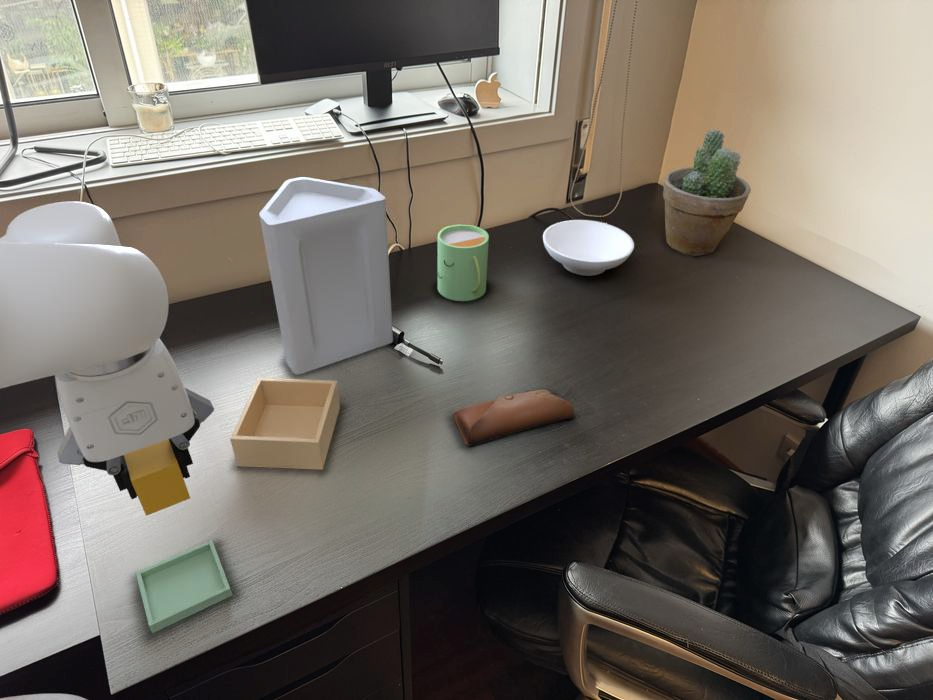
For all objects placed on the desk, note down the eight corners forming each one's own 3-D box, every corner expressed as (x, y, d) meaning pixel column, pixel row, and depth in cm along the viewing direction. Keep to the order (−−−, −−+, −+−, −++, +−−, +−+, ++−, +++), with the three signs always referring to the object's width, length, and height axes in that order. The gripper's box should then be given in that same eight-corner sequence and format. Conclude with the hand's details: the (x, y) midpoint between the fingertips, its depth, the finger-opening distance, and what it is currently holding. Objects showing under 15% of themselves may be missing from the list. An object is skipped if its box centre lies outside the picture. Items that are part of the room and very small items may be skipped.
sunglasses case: (548, 386, 107) (562, 372, 101) (563, 425, 105) (578, 413, 99) (448, 412, 101) (457, 399, 96) (462, 454, 99) (472, 443, 93)
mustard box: (146, 516, 67) (130, 480, 63) (137, 487, 70) (122, 452, 66) (190, 498, 69) (178, 463, 65) (180, 471, 72) (167, 436, 68)
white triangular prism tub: (359, 303, 127) (347, 167, 110) (394, 341, 117) (387, 198, 100) (265, 332, 118) (237, 189, 101) (295, 376, 108) (268, 226, 91)
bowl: (523, 256, 144) (525, 229, 140) (593, 240, 152) (597, 213, 147) (572, 298, 130) (576, 269, 126) (647, 278, 138) (653, 250, 134)
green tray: (152, 633, 72) (148, 626, 71) (138, 579, 77) (135, 572, 76) (232, 595, 76) (230, 588, 75) (214, 546, 81) (212, 539, 80)
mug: (428, 282, 134) (427, 230, 127) (472, 271, 138) (474, 220, 131) (454, 312, 125) (455, 258, 118) (500, 300, 129) (504, 247, 122)
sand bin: (322, 470, 92) (318, 442, 88) (237, 466, 92) (229, 438, 89) (340, 407, 102) (336, 380, 99) (263, 404, 103) (257, 377, 99)
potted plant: (746, 260, 146) (782, 153, 131) (673, 267, 142) (701, 158, 127) (705, 224, 160) (733, 124, 145) (637, 230, 156) (658, 128, 141)
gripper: (-4, 398, 50) (75, 539, 62) (212, 335, 58) (248, 471, 69) (-9, 349, 55) (65, 488, 66) (191, 296, 63) (228, 429, 74)
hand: (158, 478), depth 68 cm, fingers closed on mustard box, 4 cm apart
